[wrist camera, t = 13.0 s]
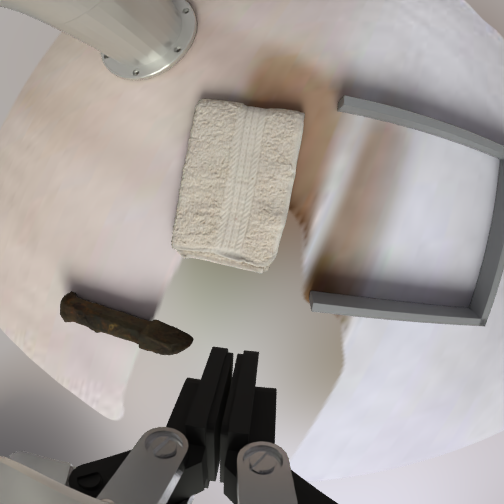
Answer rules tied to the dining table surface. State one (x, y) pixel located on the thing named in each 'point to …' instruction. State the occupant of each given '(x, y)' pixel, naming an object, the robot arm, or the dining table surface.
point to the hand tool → (125, 326)
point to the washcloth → (237, 183)
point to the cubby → (497, 251)
